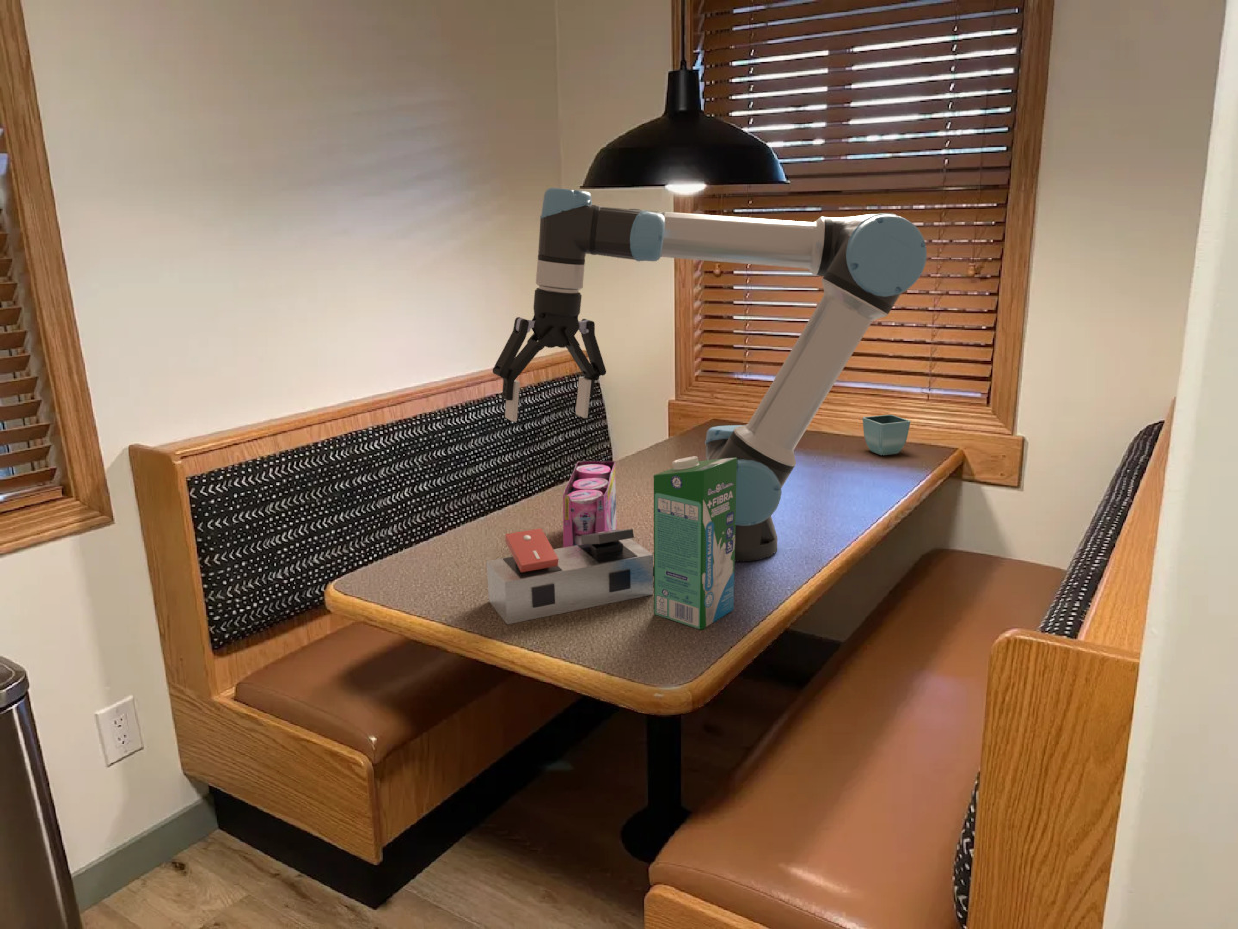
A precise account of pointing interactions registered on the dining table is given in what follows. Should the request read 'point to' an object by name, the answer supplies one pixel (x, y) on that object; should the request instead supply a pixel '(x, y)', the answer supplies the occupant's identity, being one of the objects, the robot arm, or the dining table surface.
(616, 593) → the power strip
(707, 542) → the milk carton
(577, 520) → the gum box
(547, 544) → the red rocker
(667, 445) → the dining table surface
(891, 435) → the flower pot
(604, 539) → the black rocker
